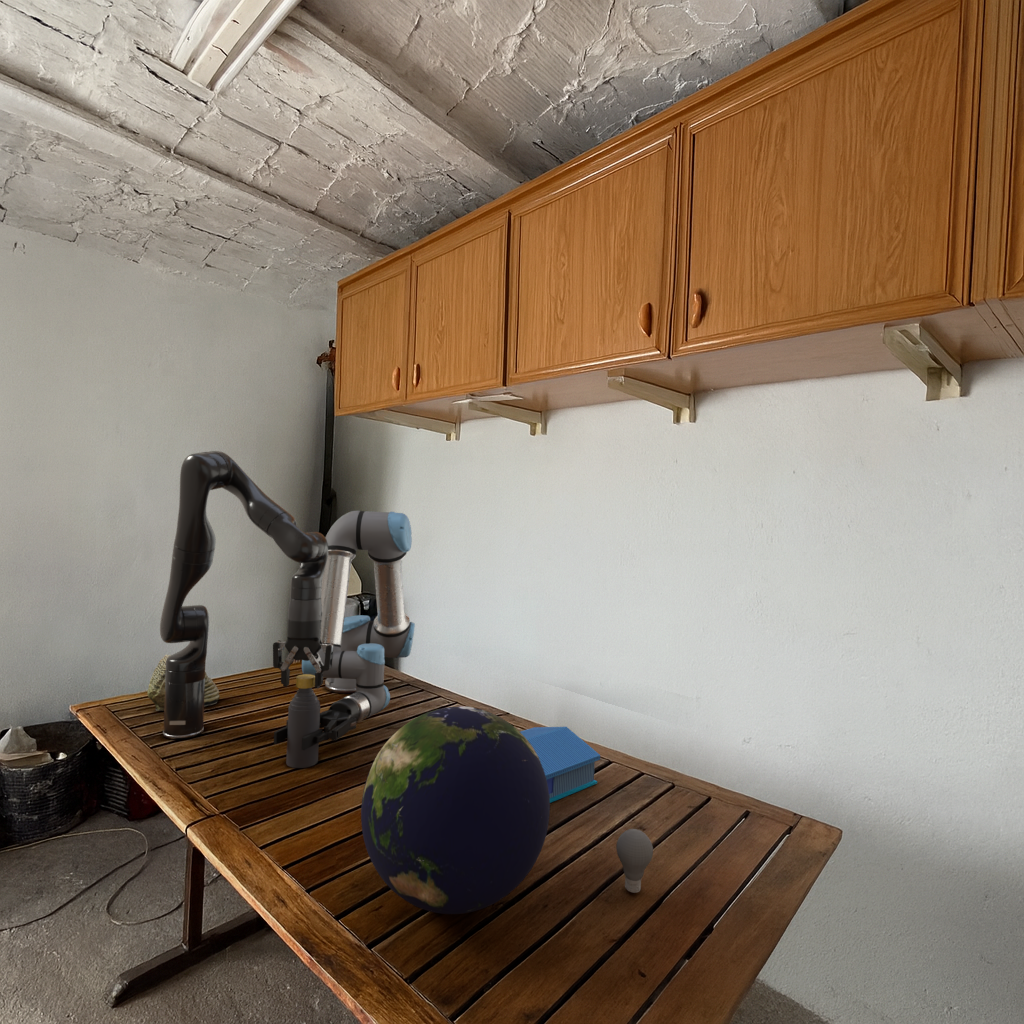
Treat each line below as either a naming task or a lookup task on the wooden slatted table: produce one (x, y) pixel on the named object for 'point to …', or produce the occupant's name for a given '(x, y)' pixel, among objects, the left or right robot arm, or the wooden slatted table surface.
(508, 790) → the globe
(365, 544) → the right robot arm
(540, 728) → the model building
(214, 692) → the fossil
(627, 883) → the light bulb
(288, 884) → the wooden slatted table surface
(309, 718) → the bottle
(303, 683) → the cap
